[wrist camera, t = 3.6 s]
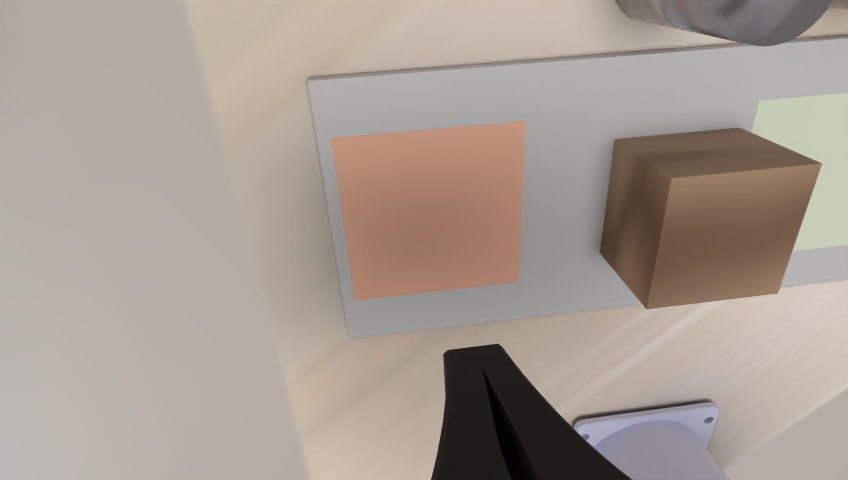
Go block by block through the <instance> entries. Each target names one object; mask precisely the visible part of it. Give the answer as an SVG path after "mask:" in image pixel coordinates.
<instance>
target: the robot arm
mask: <svg viewBox="0 0 848 480" xmlns="http://www.w3.org/2000/svg"><path fill="white" fill-rule="evenodd" d="M443 357H444V376H445V395H446V400H445V409H444V419H443V425H442V431H441V436H440V442H439V447H438V453H437V457H436V462H435V466H434V470H433V474H432V478H431V480H729V479H728V478H727V476H726V475H725V473H724V472H723V471H722V469H721V468H720V466H719V465H718V464H717V462H716V461H715V459H714V458H713V457H712V455H711V454H710V453H709V451H708V450H707V449H708V445H709V442H710V439H711V436H712V433H713V430H714V426H715V423H716V420H717V417H718V414H719V408H718V407H717V406H716V405H715V403H713V402H706V403H699V404H692V405H684V406H677V407H670V408H662V409H655V410H648V411H640V412H633V413H625V414H618V415H611V416H603V417H596V418H589V419H582V420H579V421H578V422H577V423H576V424H575V425H574V428H572V427H571V426H570V425H569V424H568V423H567V422H566V421H565V420H564V419H563V418H562V417H561V416H560V415H559V413H558V412H557V411H556V410H555V409H554V408H553V407H552V406H551V405H550V404H549V403H548V402H547V401H546V400H545V398H544V397H543V396H542V395H541V394H540V393H539V392H538V391H537V390H536V388H535V387H534V386H533V385H532V384H531V383H530V382H529V380H528V379H527V378H526V377H525V376H524V374H523V373H522V372H521V371H520V369H519V368H518V367H517V366H516V364H515V363H514V362H513V361H512V359H511V358H510V357H509V355H508V354H507V353H506V351H505V350H504V349H503V347H502V346H500V345H499V344H492V345H484V346H477V347H469V348H461V349H453V350H447V351H446V352H445V353H444V354H443Z"/></svg>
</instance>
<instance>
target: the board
mask: <svg viewBox="0 0 848 480" xmlns="http://www.w3.org/2000/svg"><path fill="white" fill-rule="evenodd" d="M307 83H308V89H309V95H310V102H311V108H312V114H313V120H314V127H315V133H316V139H317V145H318V151H319V158H320V164H321V170H322V176H323V183H324V189H325V195H326V201H327V208H328V214H329V220H330V226H331V233H332V239H333V245H334V251H335V257H336V264H337V270H338V276H339V282H340V289H341V295H342V301H343V307H344V314H345V320H346V326H347V332H348V338H349V339H355V338H363V337H371V336H380V335H388V334H397V333H405V332H413V331H422V330H430V329H439V328H447V327H455V326H464V325H472V324H481V323H489V322H497V321H506V320H514V319H523V318H531V317H539V316H548V315H556V314H565V313H573V312H581V311H590V310H598V309H607V308H615V307H623V306H632V305H640V304H642V303H641V302H640V301H639V300H638V298H637V297H636V296H635V295H634V294H633V292H632V291H631V290H630V289H629V288H628V286H627V285H626V284H625V283H624V282H623V280H622V279H621V278H620V277H619V276H618V274H617V273H616V272H615V271H614V270H613V269H612V267H611V266H610V265H609V264H608V263H607V261H606V260H605V259H604V258H603V257H602V255H601V254H600V247H601V239H602V232H603V224H604V216H605V209H606V201H607V193H608V186H609V178H610V170H611V162H612V155H613V147H614V139H621V138H632V137H643V136H653V135H664V134H675V133H686V132H697V131H708V130H718V129H729V128H742V129H744V130H746V131H749V132H751V133H753V134H756V135H758V136H760V137H763V138H765V139H767V140H769V141H772V142H774V143H776V144H779V145H781V146H783V147H785V148H788V149H790V150H792V151H795V152H797V153H799V154H802V155H804V156H806V157H808V158H811V159H813V160H815V161H818V162H820V163H822V166H821V169H820V172H819V175H818V178H817V180H816V183H815V186H814V189H813V192H812V195H811V198H810V201H809V204H808V207H807V210H806V213H805V216H804V219H803V222H802V224H801V227H800V230H799V233H798V236H797V239H796V242H795V245H794V248H793V251H792V254H791V257H790V260H789V263H788V265H787V268H786V271H785V274H784V277H783V280H782V283H781V286H780V288H783V287H791V286H800V285H808V284H817V283H825V282H834V281H842V280H848V35H841V36H828V37H815V38H803V39H792V40H789V41H787V42H785V43H782V44H778V45H774V46H755V45H750V44H746V43H739V44H727V45H714V46H701V47H689V48H676V49H663V50H651V51H638V52H625V53H613V54H600V55H587V56H575V57H562V58H549V59H537V60H524V61H511V62H499V63H486V64H473V65H461V66H448V67H435V68H423V69H410V70H397V71H384V72H372V73H359V74H346V75H334V76H321V77H309V78H308V80H307Z"/></svg>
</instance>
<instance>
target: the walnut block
mask: <svg viewBox="0 0 848 480" xmlns="http://www.w3.org/2000/svg"><path fill="white" fill-rule="evenodd" d="M821 166H822V163H820V162H818V161H815V160H813V159H811V158H808V157H806V156H804V155H802V154H799V153H797V152H795V151H792V150H790V149H788V148H785V147H783V146H781V145H779V144H776V143H774V142H772V141H769V140H767V139H765V138H763V137H760V136H758V135H756V134H753V133H751V132H749V131H746V130H744V129H742V128H729V129H718V130H708V131H697V132H686V133H675V134H664V135H653V136H643V137H632V138H621V139H614V147H613V155H612V162H611V170H610V178H609V186H608V193H607V201H606V209H605V216H604V224H603V232H602V239H601V247H600V254H601V255H602V257H603V258H604V259H605V260H606V261H607V263H608V264H609V265H610V266H611V267H612V269H613V270H614V271H615V272H616V273H617V274H618V276H619V277H620V278H621V279H622V280H623V282H624V283H625V284H626V285H627V286H628V288H629V289H630V290H631V291H632V292H633V294H634V295H635V296H636V297H637V298H638V300H639V301H640V302H641V303H642V304H643V306H644V307H645V308H646V309H652V308H660V307H668V306H677V305H685V304H693V303H702V302H710V301H718V300H727V299H735V298H743V297H752V296H760V295H768V294H777V293H778V292H779V289H780V286H781V283H782V280H783V277H784V274H785V271H786V268H787V265H788V263H789V260H790V257H791V254H792V251H793V248H794V245H795V242H796V239H797V236H798V233H799V230H800V227H801V224H802V222H803V219H804V216H805V213H806V210H807V207H808V204H809V201H810V198H811V195H812V192H813V189H814V186H815V183H816V180H817V178H818V175H819V172H820V169H821Z"/></svg>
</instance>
